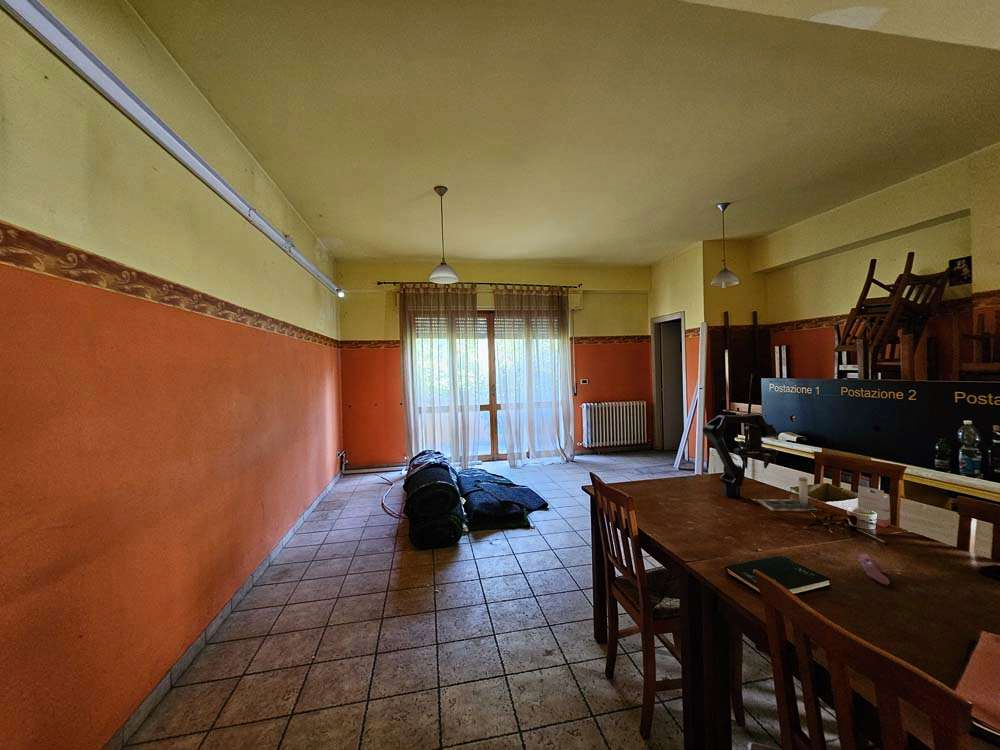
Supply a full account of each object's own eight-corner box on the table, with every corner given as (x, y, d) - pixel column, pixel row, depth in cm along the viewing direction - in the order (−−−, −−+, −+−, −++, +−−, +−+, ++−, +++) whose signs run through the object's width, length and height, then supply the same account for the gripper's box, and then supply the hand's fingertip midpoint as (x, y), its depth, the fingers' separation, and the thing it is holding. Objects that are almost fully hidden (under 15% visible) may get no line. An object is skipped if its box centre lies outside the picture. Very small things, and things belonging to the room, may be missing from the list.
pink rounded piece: (867, 573, 120) (853, 551, 121) (885, 570, 117) (870, 548, 119) (872, 587, 112) (858, 564, 114) (892, 585, 109) (876, 561, 111)
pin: (804, 507, 168) (803, 479, 168) (797, 505, 171) (797, 477, 171) (809, 507, 169) (808, 478, 168) (803, 505, 172) (802, 477, 171)
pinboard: (772, 510, 168) (772, 502, 168) (756, 501, 180) (756, 494, 180) (816, 511, 167) (816, 503, 167) (797, 501, 178) (797, 494, 178)
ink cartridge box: (891, 525, 150) (890, 489, 150) (885, 527, 148) (884, 491, 148) (863, 517, 158) (862, 483, 158) (857, 520, 156) (856, 485, 156)
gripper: (764, 435, 198) (765, 464, 199) (727, 435, 200) (728, 464, 201) (778, 439, 187) (778, 470, 188) (739, 439, 189) (739, 470, 189)
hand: (755, 468), depth 192 cm, fingers open, 9 cm apart
